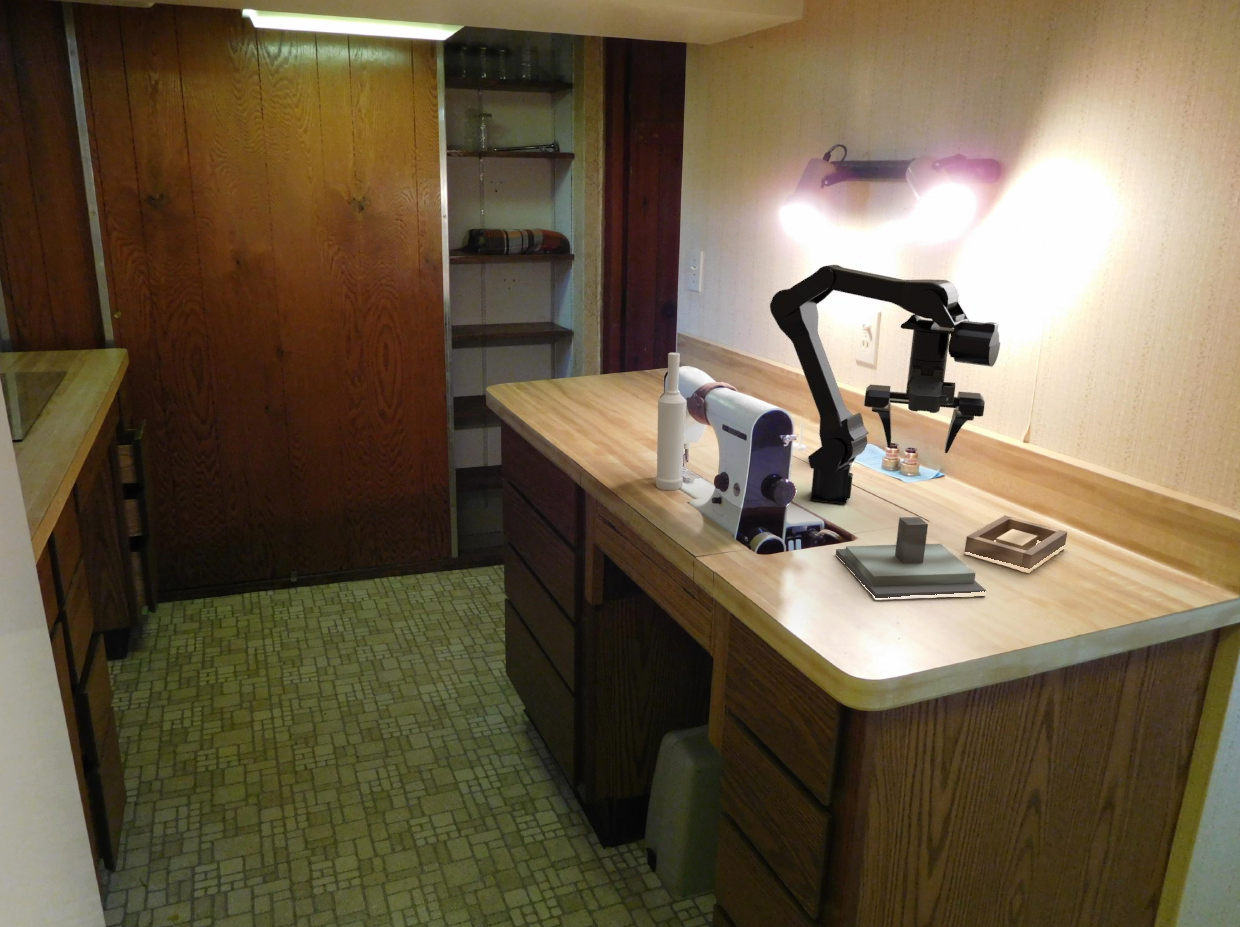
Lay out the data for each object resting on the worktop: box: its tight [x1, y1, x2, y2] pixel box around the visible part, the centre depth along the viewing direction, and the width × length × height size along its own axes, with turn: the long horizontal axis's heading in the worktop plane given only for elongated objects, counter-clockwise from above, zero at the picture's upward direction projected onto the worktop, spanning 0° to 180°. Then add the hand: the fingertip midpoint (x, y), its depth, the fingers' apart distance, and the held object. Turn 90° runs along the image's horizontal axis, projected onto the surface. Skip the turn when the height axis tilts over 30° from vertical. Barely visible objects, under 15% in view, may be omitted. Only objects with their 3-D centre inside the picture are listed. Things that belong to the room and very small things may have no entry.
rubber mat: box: [835, 548, 987, 598], centre depth 136 cm, size 16×16×1 cm
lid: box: [845, 516, 977, 586], centre depth 134 cm, size 11×15×8 cm
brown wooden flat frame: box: [964, 514, 1068, 569], centre depth 145 cm, size 10×14×3 cm
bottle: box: [654, 352, 688, 491], centre depth 169 cm, size 5×5×25 cm
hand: (917, 449), depth 156 cm, fingers open, 9 cm apart
